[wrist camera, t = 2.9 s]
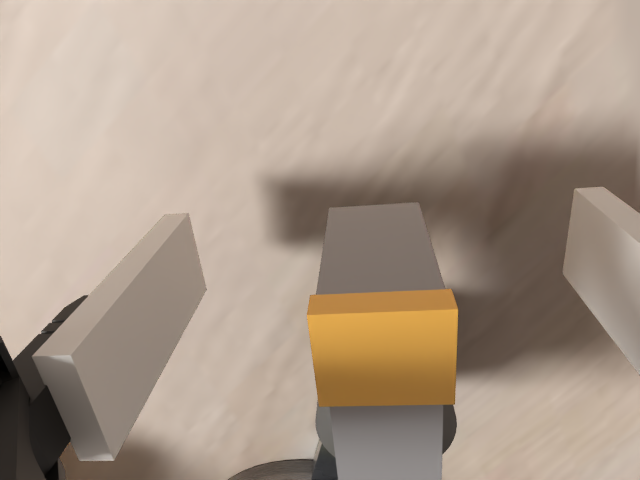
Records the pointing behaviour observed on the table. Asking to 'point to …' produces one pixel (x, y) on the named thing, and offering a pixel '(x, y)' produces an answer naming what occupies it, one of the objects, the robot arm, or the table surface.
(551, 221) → the table surface
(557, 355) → the table surface
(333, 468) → the tribrach
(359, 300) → the knob
